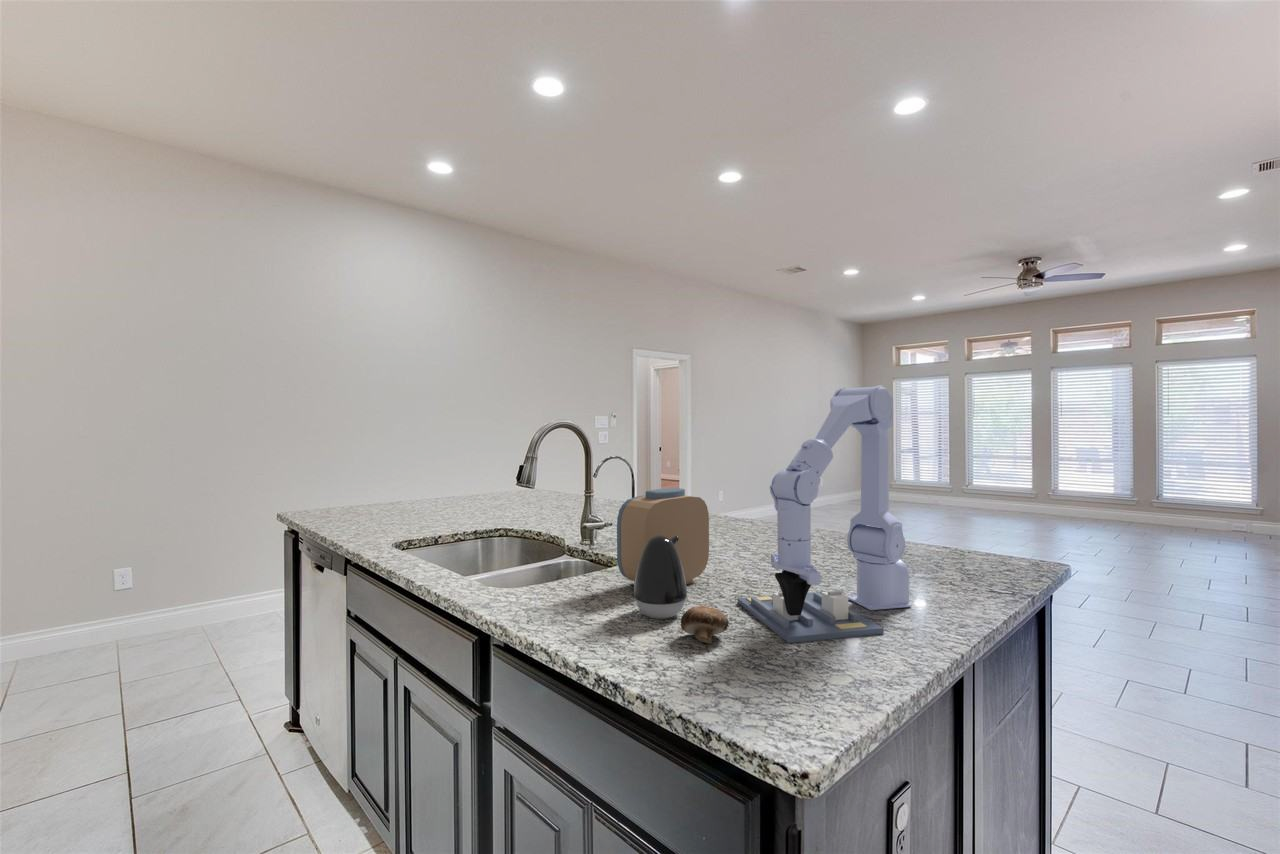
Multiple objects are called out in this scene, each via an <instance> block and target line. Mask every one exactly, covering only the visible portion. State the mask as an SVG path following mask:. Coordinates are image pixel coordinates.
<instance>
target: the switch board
mask: <svg viewBox="0 0 1280 854" xmlns="http://www.w3.org/2000/svg"><path fill="white" fill-rule="evenodd" d="M737 604H738V605H739V606H741V607H742V608H743V609H744V610H745V611H747V612H748V613H750V614H751V615H752V616H753V617H755V619H757V620H758V621H759V622H761V623H762V624H763V625H764V626H767V627H768V629H770V630H771V631H772V632H773V633H775V634H776V635H778V637H780V638H782V640H783V641H785V642H786V643H788V644H791V643H792V644H793V643H803V642H812V641H813V642H815V641H823V640H834V639H845V638H854V637H864V636H865V637H866V636H873V635H874V636H877V635H884V627H882V626H881V625H879V624H877V623H876V622H874V621H872V620H870V619H867V618H865V617H864V616H862V615H861V614H858V613H857V612H855V611H853V610H851V609H850V608H848V619H845V620H836V617H835V616H833V615H832V614H830V613H828V612H827V611H825V610H823V609H822V593H820V592H818V591H814V592H811V591H810V592H808V593H807V595H806V598H805V601H804V605H803V609H802V613H801V615H798V620H793V621H789V620H787V619H786V618H784V617H783V616H782V615H780V614H779V613H777V612H776V611H774V610H773V594H772V595H760V596H748V597H737Z"/></svg>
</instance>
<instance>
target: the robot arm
mask: <svg viewBox="0 0 1280 854" xmlns="http://www.w3.org/2000/svg"><path fill="white" fill-rule="evenodd" d="M829 401H830V402H829V403H830V404H829V406H830V407H829V408H830V412H829V413H828V414H827V416H826V418H825V420H824V422H823V424H822V425H821V427H820V429H819V431H818V432H817V434H816V436H815V438H811V439H807V440H805V441H803V442H802V444H801V445H800V446H801V447H800V449H799V450H798V451H797V453H796V454H795V456H794V457H793V459H792V460H791V461H790V463H789V464H788V465H787V467H786V468H785V469H782V470H780V471H778V472H777V473H776V474H774V476H773V478H772V481H771V485H769V492H770V495H771V497H772V498H773V501H774V509H775V511H776V512H777V513H776V514H777V517H776V518H777V521H776V523H777V526H776V527H777V530H776V531H777V533H776V534H777V537H776V538H777V553H771V554H770V565H771V567H772V568H773V569H775V570H782V571H781V572H775V573H774V578H775V579H776V581H777V583H778V585H779V588H780V590H781V592H782V594H783V597H784V601H785V606H786V610H787V613H788V614H789V615H790V616H795V615H801V613H802V609H803V605H804V601H805V598H806V595H807V593H809V590H810V589H811V587H812V585H821V584H822V583H821V578H822V577H821V575H822V573H821V572H820V571H818V570H817V569H816V568H815V566H814V565H813V563H812V561H811V560H812V553H811V552H812V549H811V548H812V547H811V545H812V542H811V541H812V540H811V539H812V538H811V536H812V535H811V534H812V533H811V530H812V529H811V528H812V527H811V516H812V515H811V507H812V506H811V505H812V503H813V502H814V501H815V500H816V499H817V497H818V493H819V486H820V484H821V476H822V475H823V474H824V473H825V471H826V469H827V468H828V466H829V465H830V463H831V462H832V461H833V458H834V455H833V454H834V453H833V450H832V449H833V447H834V446H835V445H836V444H837V443H838V441H839V440H840V439H841V437H842V436H843V435H844V434H845V432H846V431H847V430H848V429H849V427H852V428H855V430H857V432H858V433H860V435H861V438H860V439H861V446H860V447H861V448H860V449H861V450H860V452H861V454H860V455H861V458H860V460H861V461H860V463H861V464H860V465H861V466H860V469H861V470H860V474H861V475H860V476H861V477H860V511H859V512H858V513H856V514H855V515H854V516H852V517H851V519H850V520H849V521H850V524H849V530H848V533H847V536H846V543H847V546H848V549H849V551H850V552H851V553H852V555H853V558H854V559H856V595H848V596H847V597H848V600H850V601H852V602H854V603H855V604H857V605H860V606H861V607H862V608H865V609H867V610H869V611H878V610H890V609H900V608H901V609H902V608H911V607H912V603H910V573H909V569H908V567H907V564H906V563H905V562H904V561H903V560H902V559H901V558H902V557H903V556H904V553H905V551H906V550H905V549H906V540H905V537H904V533H903V532H904V531H903V523H902V522H901V521H900V520H899V519H898V518H896V517H895V516H894V515H893V514H892V513H891V512H890V510H889V508H890V503H889V502H890V501H889V500H890V499H889V498H890V497H889V496H890V495H889V493H890V492H889V491H890V429H891V428H892V427H893V422H894V421H893V420H894V397H893V396H892V394H891V393H890V392H889V390H888V389H887V388H886V387H885V386H883V385H876V386H871V387H870V386H867V387H865V386H864V387H853V388H846V387H842V388H838V389H837V390H836V391H835V392H834V394H833V396H832V397H831V398H830V400H829Z"/></svg>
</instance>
